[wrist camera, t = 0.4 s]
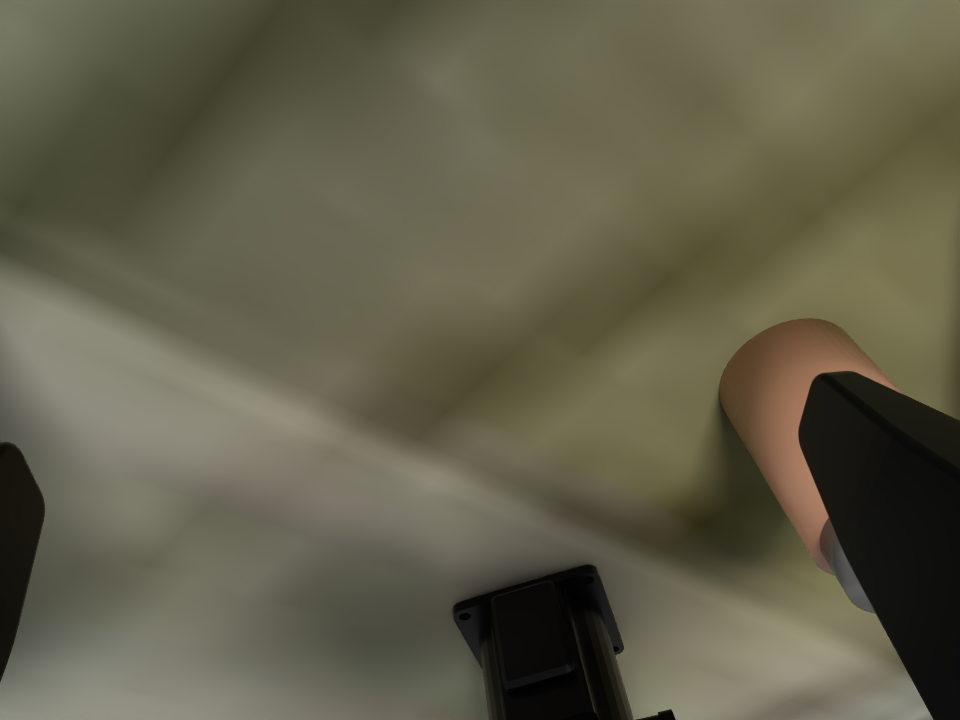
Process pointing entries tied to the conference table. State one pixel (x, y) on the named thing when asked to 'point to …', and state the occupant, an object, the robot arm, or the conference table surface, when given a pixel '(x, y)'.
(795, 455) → the shaker
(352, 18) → the conference table surface
